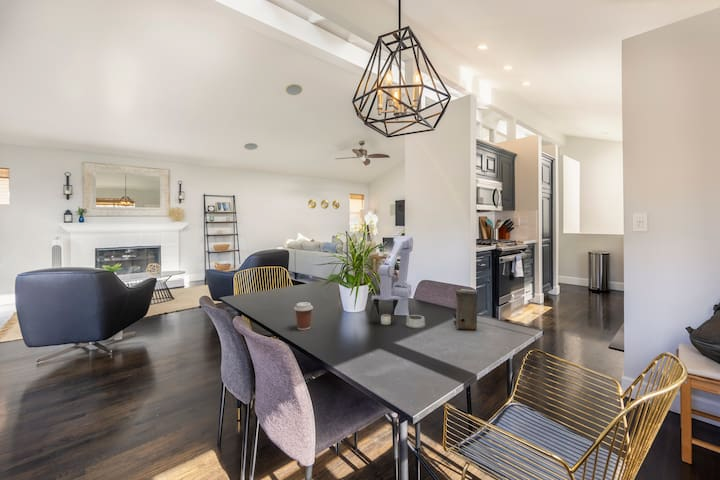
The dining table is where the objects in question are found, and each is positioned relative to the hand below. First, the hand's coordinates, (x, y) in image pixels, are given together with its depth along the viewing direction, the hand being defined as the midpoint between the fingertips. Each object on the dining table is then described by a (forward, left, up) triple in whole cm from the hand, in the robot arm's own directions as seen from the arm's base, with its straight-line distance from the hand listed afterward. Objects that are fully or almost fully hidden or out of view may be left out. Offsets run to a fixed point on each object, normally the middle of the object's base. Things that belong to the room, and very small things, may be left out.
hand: (385, 314), depth 170 cm
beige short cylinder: (0, 0, -5) cm, 5 cm away
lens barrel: (+2, +15, -5) cm, 16 cm away
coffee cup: (+12, -40, -5) cm, 42 cm away
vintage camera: (-1, +39, -5) cm, 39 cm away
